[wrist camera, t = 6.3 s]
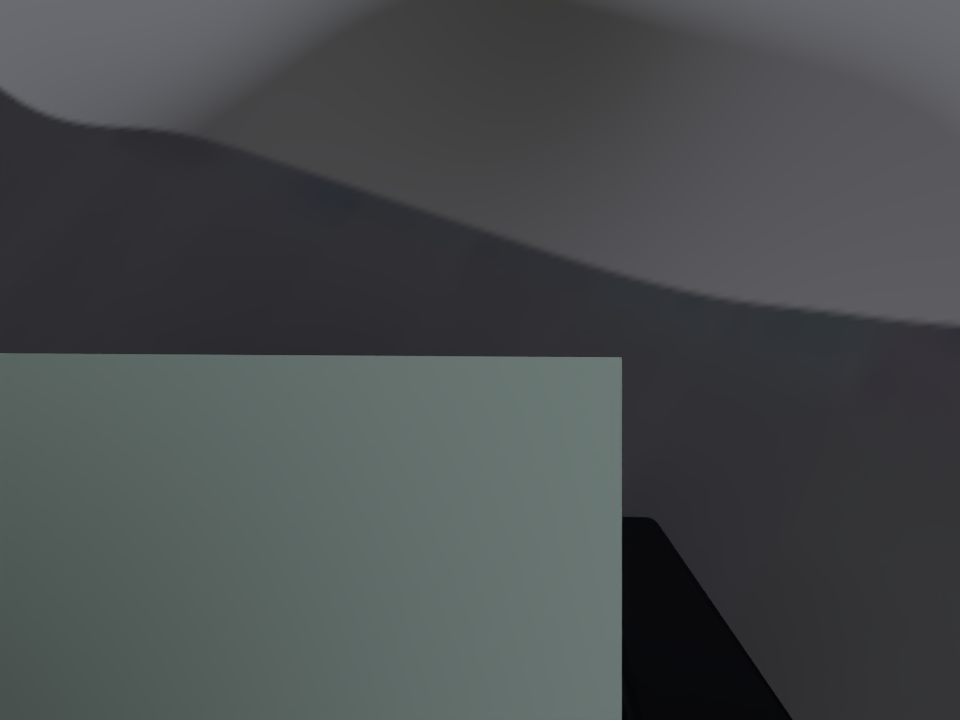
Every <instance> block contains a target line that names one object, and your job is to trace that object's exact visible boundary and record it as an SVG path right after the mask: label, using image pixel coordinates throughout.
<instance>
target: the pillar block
mask: <svg viewBox="0 0 960 720" xmlns="http://www.w3.org/2000/svg"><path fill="white" fill-rule="evenodd" d="M0 720H622V358H621V357H469V356H316V355H163V354H11V353H0Z"/></svg>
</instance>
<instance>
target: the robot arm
mask: <svg viewBox="0 0 960 720" xmlns="http://www.w3.org/2000/svg"><path fill="white" fill-rule="evenodd" d="M622 720H793V719H792V718H791V717H790V715H789V714H788V712H787V711H786V709H785V708H784V706H783V705H782V703H781V702H780V701H779V699H778V698H777V696H776V695H775V693H774V692H773V690H772V689H771V687H770V686H769V685H768V683H767V682H766V680H765V679H764V677H763V676H762V674H761V673H760V671H759V670H758V668H757V667H756V666H755V664H754V663H753V661H752V660H751V658H750V657H749V655H748V654H747V652H746V651H745V650H744V648H743V647H742V645H741V644H740V642H739V641H738V639H737V638H736V636H735V635H734V633H733V632H732V631H731V629H730V628H729V626H728V625H727V623H726V622H725V620H724V619H723V617H722V616H721V615H720V613H719V612H718V610H717V609H716V607H715V606H714V604H713V603H712V601H711V600H710V599H709V597H708V596H707V594H706V593H705V591H704V590H703V588H702V587H701V585H700V584H699V582H698V581H697V580H696V578H695V577H694V575H693V574H692V572H691V571H690V569H689V568H688V566H687V565H686V564H685V562H684V561H683V559H682V558H681V556H680V555H679V553H678V552H677V550H676V549H675V548H674V546H673V545H672V543H671V542H670V540H669V539H668V537H667V536H666V534H665V533H664V531H663V530H662V529H661V527H660V526H659V524H658V523H657V522H656V521H655V520H653V519H652V518H648V517H622Z"/></svg>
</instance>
